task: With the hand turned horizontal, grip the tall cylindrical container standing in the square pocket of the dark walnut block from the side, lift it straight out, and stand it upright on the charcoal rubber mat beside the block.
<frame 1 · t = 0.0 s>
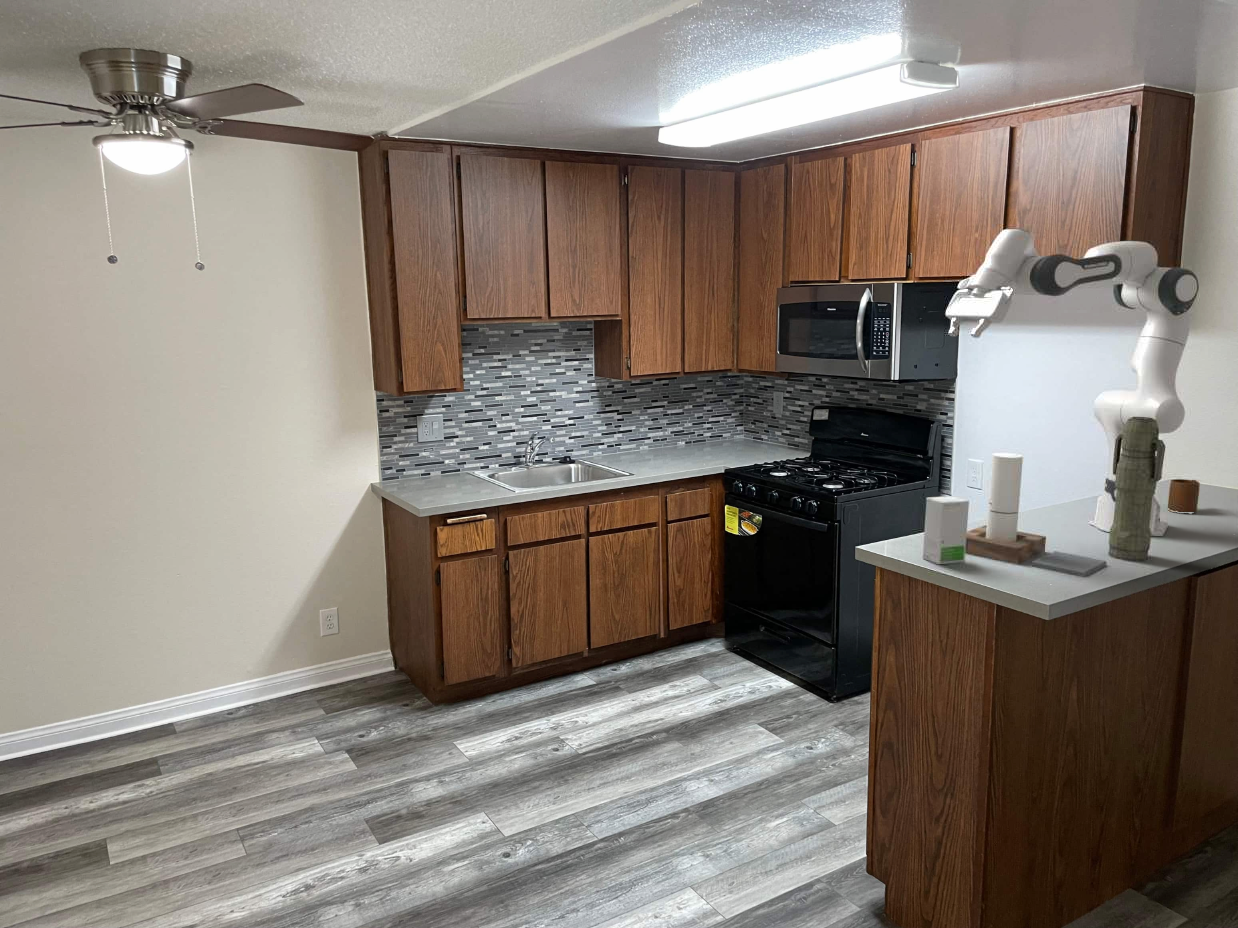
hand: (962, 336, 229), 54 cm above the countertop, tool tilted 30°, fingers open, 8 cm apart
thermos: (1128, 557, 227), on the countertop
pocket block: (999, 551, 231), on the countertop
mug: (1184, 511, 276), on the countertop
cylindrical container: (999, 552, 231), resting in pocket block
rubber mat: (1068, 565, 219), on the countertop
skincare box: (943, 560, 224), on the countertop
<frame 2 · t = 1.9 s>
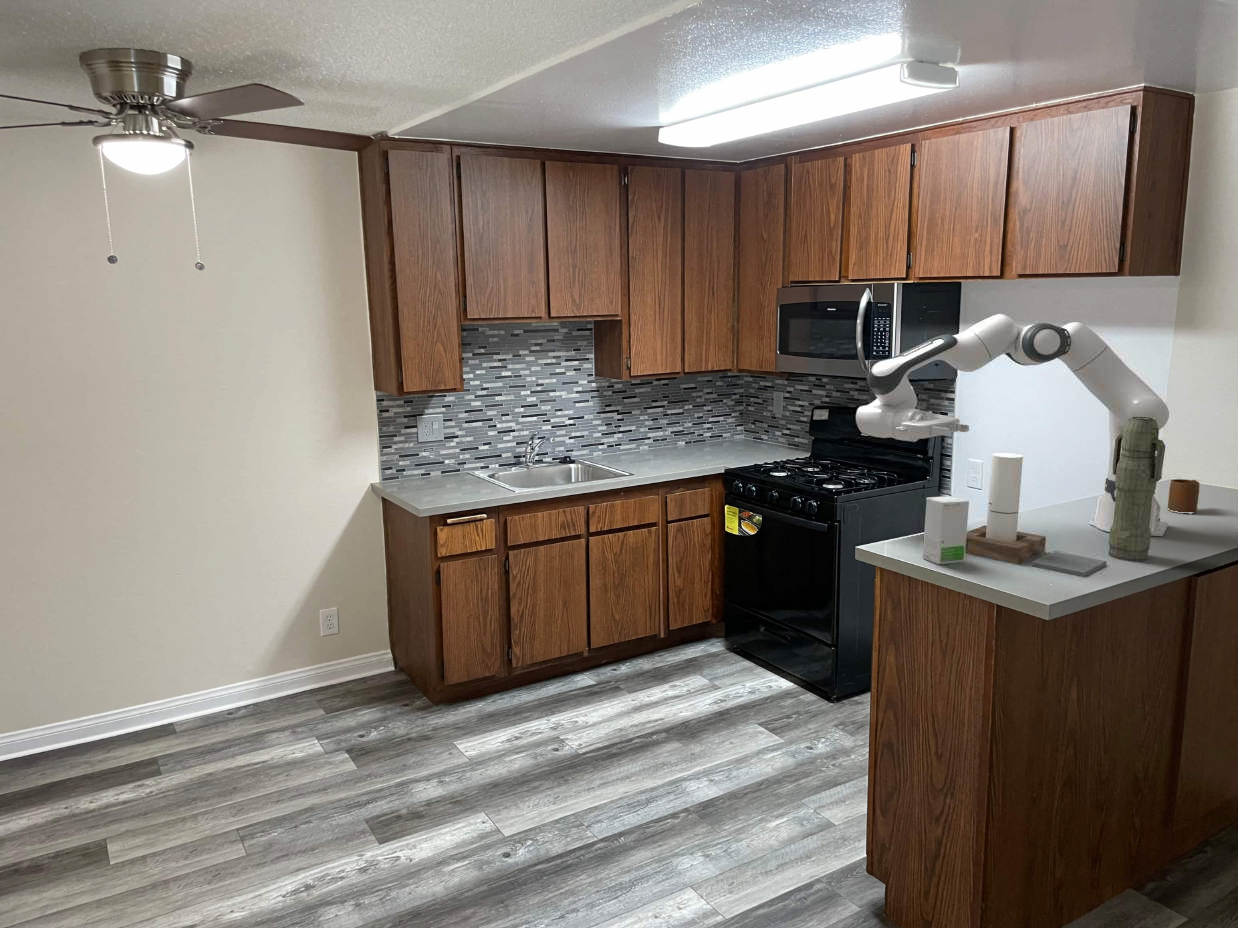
hand: (959, 430, 235), 30 cm above the countertop, tool horizontal, fingers open, 8 cm apart
nothing on the countertop moved.
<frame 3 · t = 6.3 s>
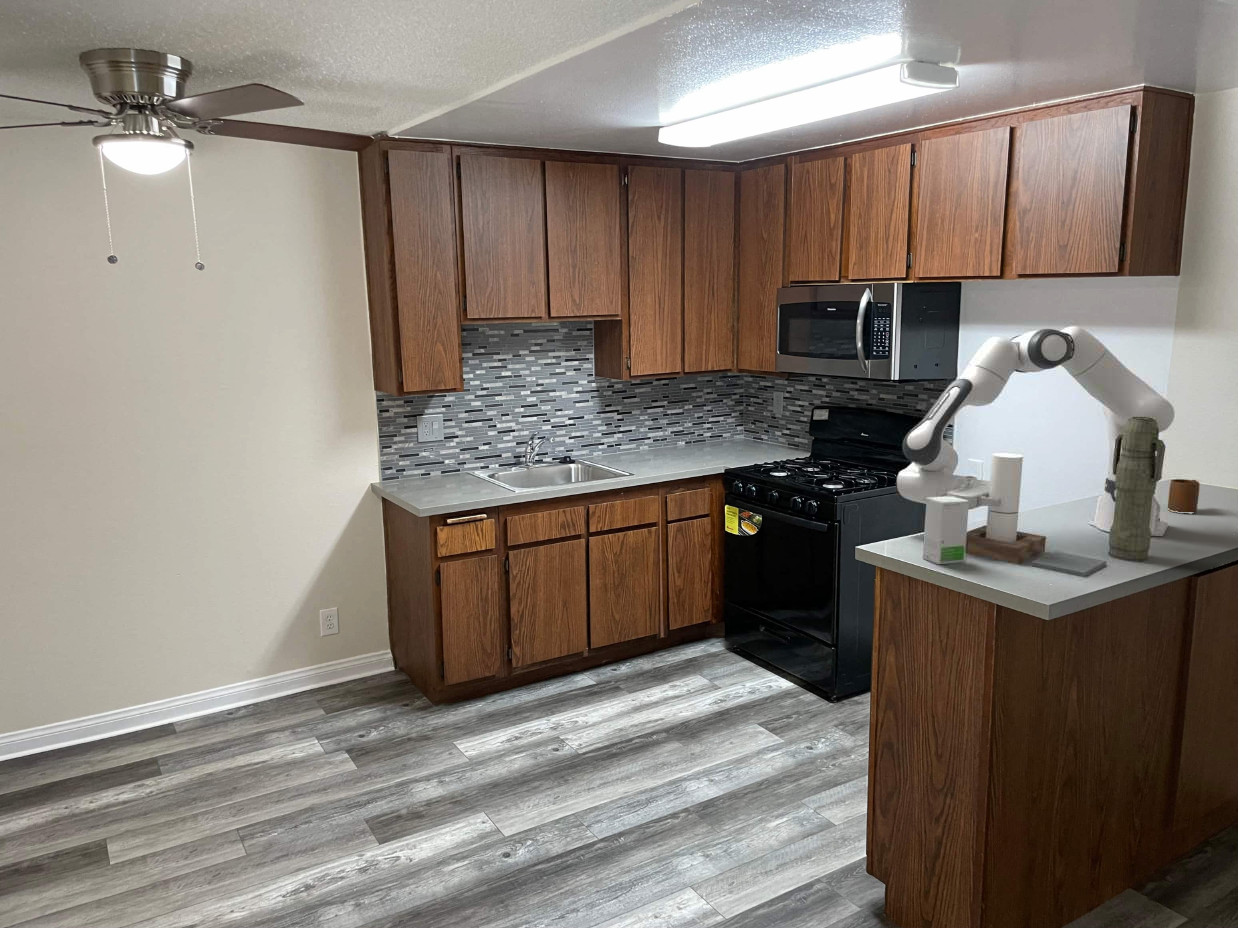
hand: (1007, 500, 228), 13 cm above the countertop, tool horizontal, fingers closed on cylindrical container, 7 cm apart
cylindrical container: (999, 552, 231), resting in pocket block, touching gripper
everything else where it was.
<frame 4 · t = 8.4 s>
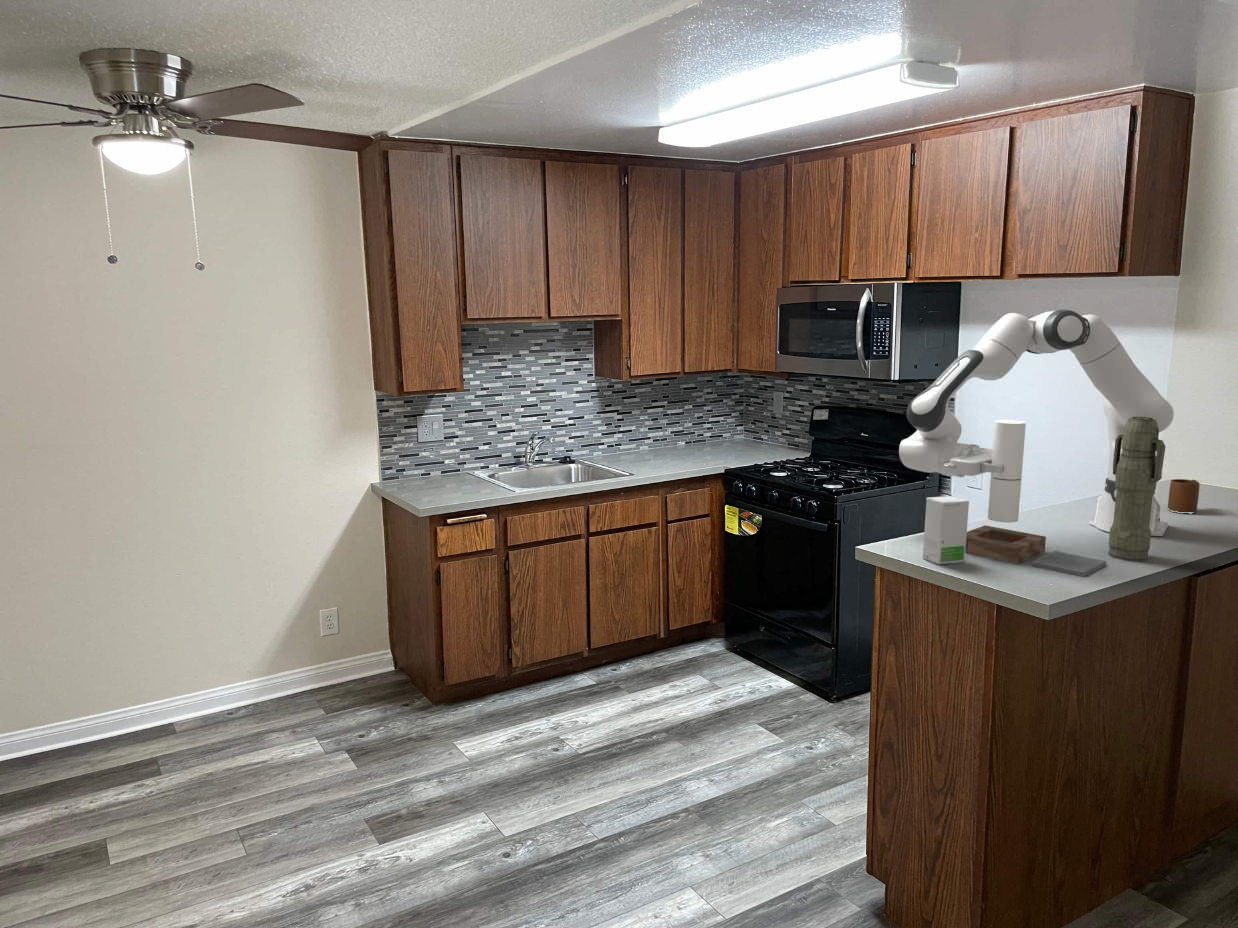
hand: (1010, 466, 227), 22 cm above the countertop, tool horizontal, fingers closed on cylindrical container, 7 cm apart
cylindrical container: (1002, 519, 230), point 8 cm above the countertop, touching gripper
everything else where it was.
when the fingers open (20 cm above the countertop, at t = 10.7 s): cylindrical container drops 5 cm, resting on rubber mat.
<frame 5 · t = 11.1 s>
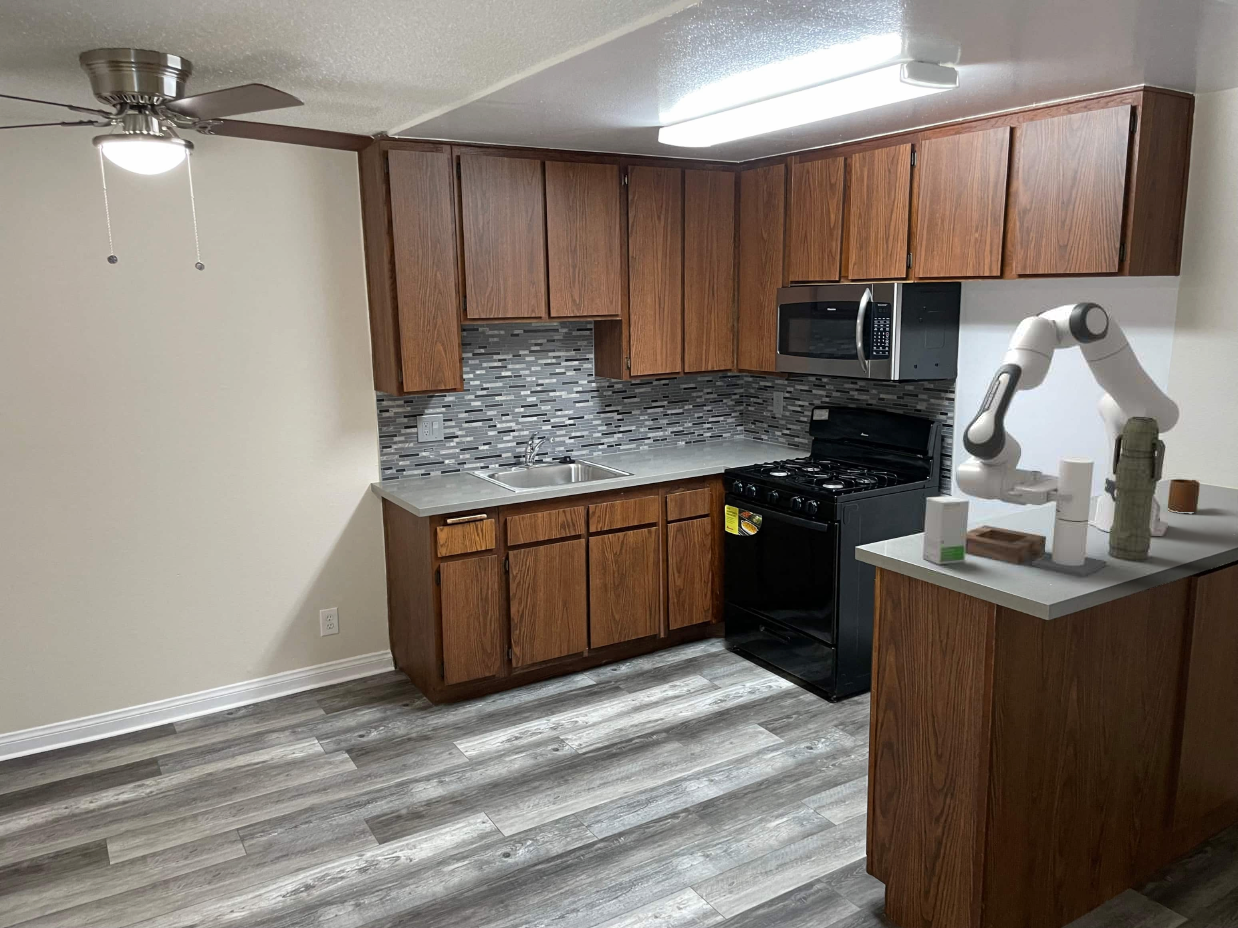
hand: (1078, 496, 215), 17 cm above the countertop, tool horizontal, fingers open, 7 cm apart
cylindrical container: (1067, 562, 219), point 1 cm above the countertop, touching rubber mat
everything else where it was.
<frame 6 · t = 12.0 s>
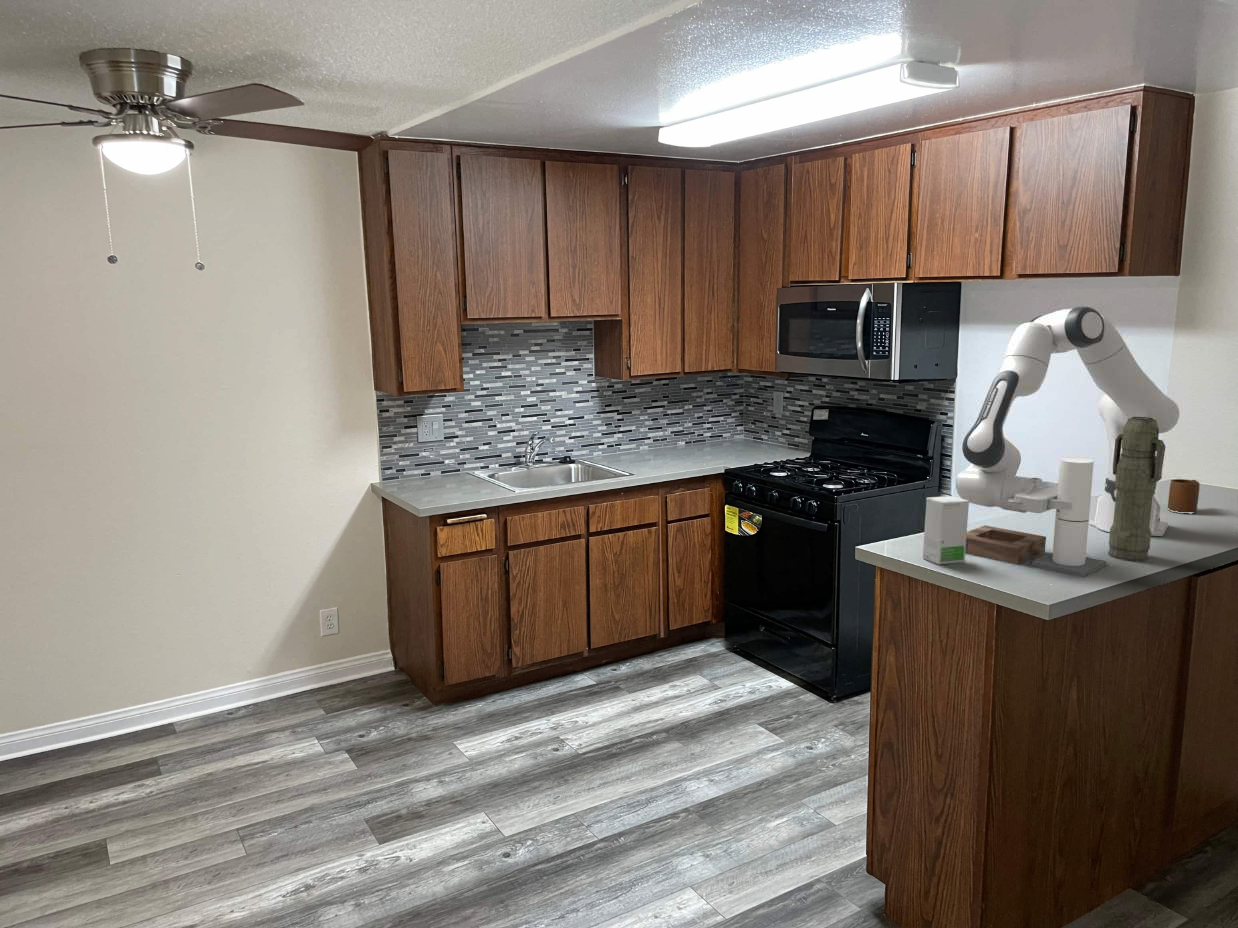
hand: (1078, 503, 216), 16 cm above the countertop, tool horizontal, fingers open, 6 cm apart
cylindrical container: (1068, 562, 219), point 1 cm above the countertop, touching gripper, rubber mat
everything else where it was.
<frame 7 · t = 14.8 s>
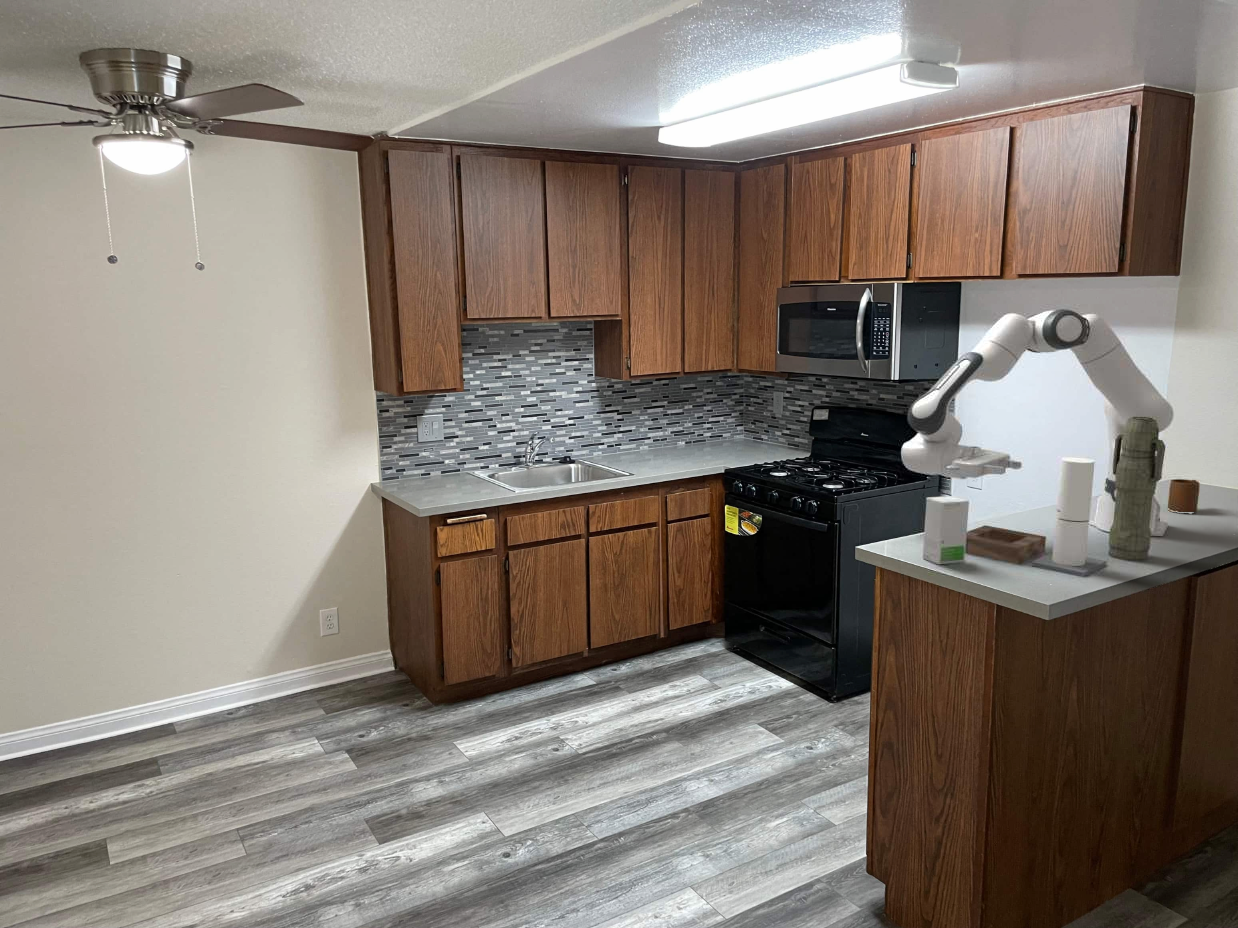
hand: (1012, 468, 229), 21 cm above the countertop, tool horizontal, fingers open, 8 cm apart
cylindrical container: (1068, 562, 219), point 1 cm above the countertop, touching rubber mat
everything else where it was.
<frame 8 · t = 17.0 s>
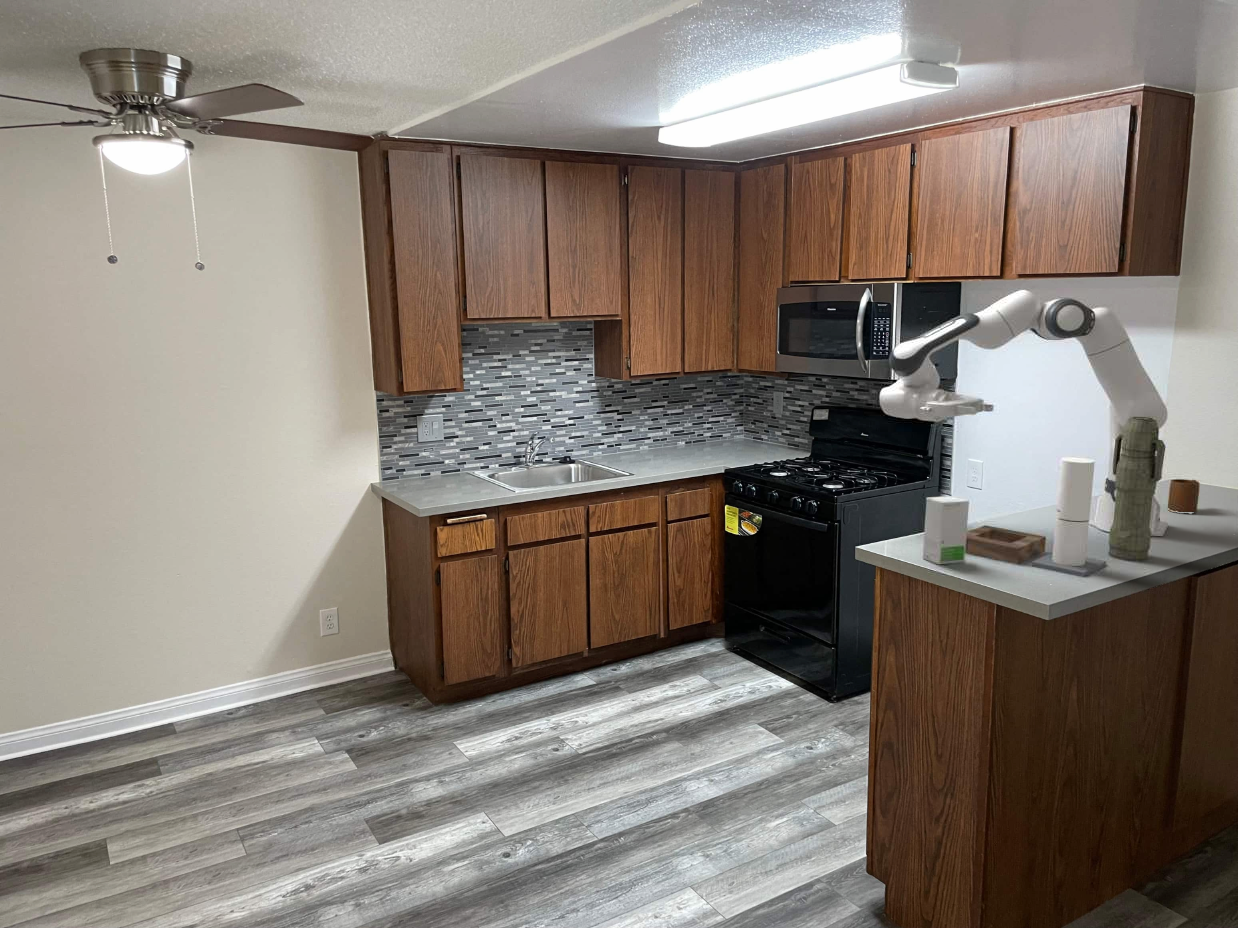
hand: (984, 409, 237), 35 cm above the countertop, tool horizontal, fingers open, 8 cm apart
nothing on the countertop moved.
at the end: cylindrical container inside the target area on the rubber mat (0.3 cm from its centre), point 0.8 cm above the rubber mat's base; cylindrical container tilted 0°; the gripper is holding nothing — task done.
